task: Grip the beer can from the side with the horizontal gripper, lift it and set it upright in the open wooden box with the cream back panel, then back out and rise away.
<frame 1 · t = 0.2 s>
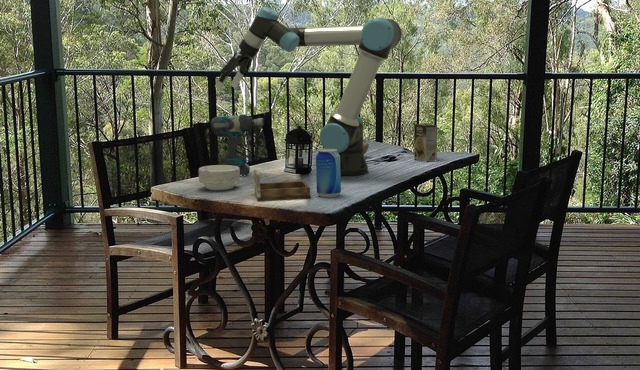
hand: (225, 87, 318), 36 cm above the table, tool tilted 35°, fingers open, 13 cm apart
pottery: (349, 160, 357), on the table
cordless power drill: (240, 175, 322), on the table
paper bowls: (220, 189, 293), on the table
open wooden box: (287, 195, 275), on the table
coffee box: (425, 161, 350), on the table
beer can: (328, 196, 273), on the table
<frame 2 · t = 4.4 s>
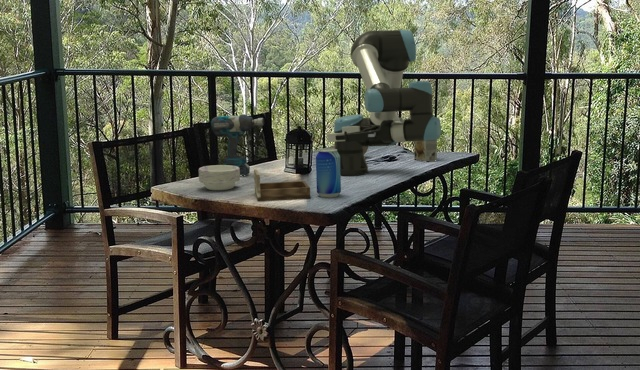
hand: (335, 134, 270), 21 cm above the table, tool horizontal, fingers open, 13 cm apart
nothing on the table moved.
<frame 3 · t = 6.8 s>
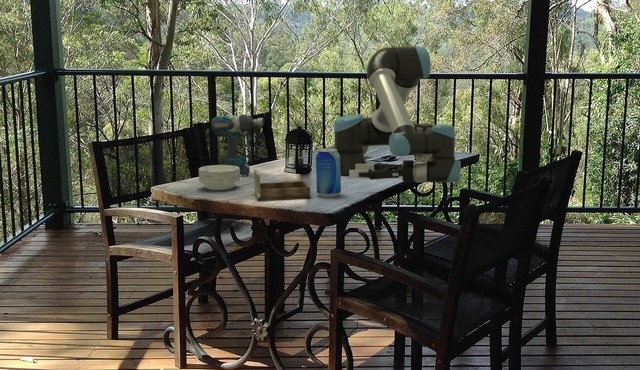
hand: (352, 170, 270), 9 cm above the table, tool horizontal, fingers open, 13 cm apart
nothing on the table moved.
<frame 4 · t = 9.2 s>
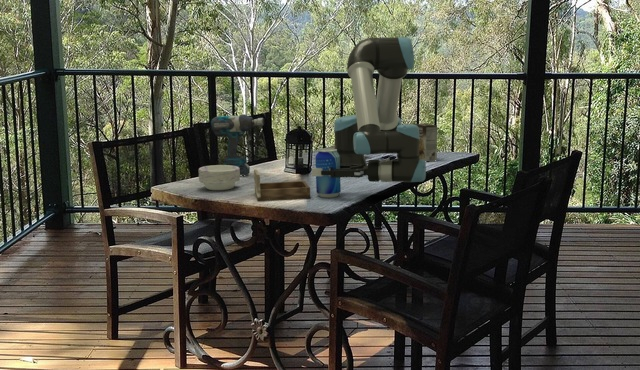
hand: (314, 170, 273), 9 cm above the table, tool horizontal, fingers closed on beer can, 7 cm apart
beer can: (328, 196, 273), on the table, touching gripper
everything else where it was.
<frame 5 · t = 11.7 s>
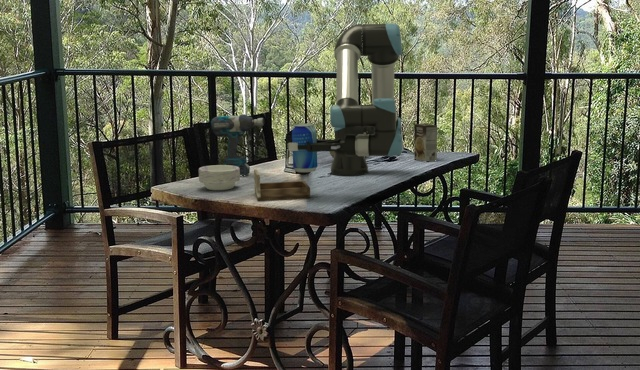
hand: (291, 145, 272), 18 cm above the table, tool horizontal, fingers closed on beer can, 7 cm apart
beer can: (305, 171, 272), point 9 cm above the table, touching gripper
everything else where it was.
when the fingers open (12 cm above the table, at t = 14.1 s): beer can drops 2 cm, resting on open wooden box.
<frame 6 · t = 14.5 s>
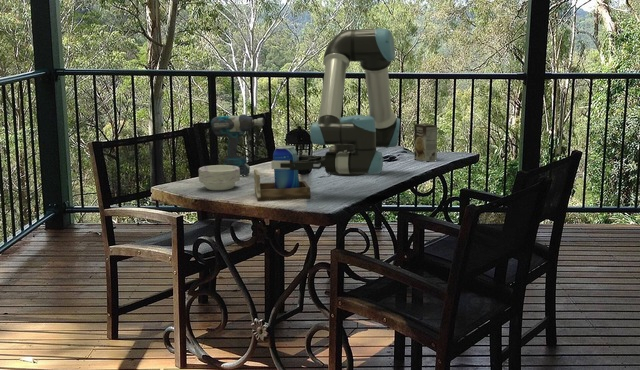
hand: (276, 162, 274), 12 cm above the table, tool horizontal, fingers open, 12 cm apart
beer can: (287, 192, 274), point 1 cm above the table, touching open wooden box
everything else where it was.
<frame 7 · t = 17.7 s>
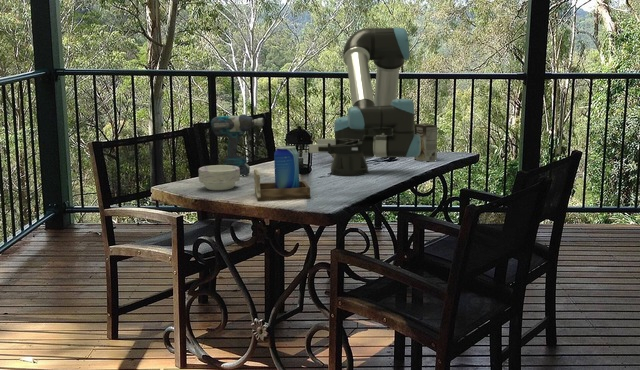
hand: (313, 145, 270), 18 cm above the table, tool horizontal, fingers open, 13 cm apart
nothing on the table moved.
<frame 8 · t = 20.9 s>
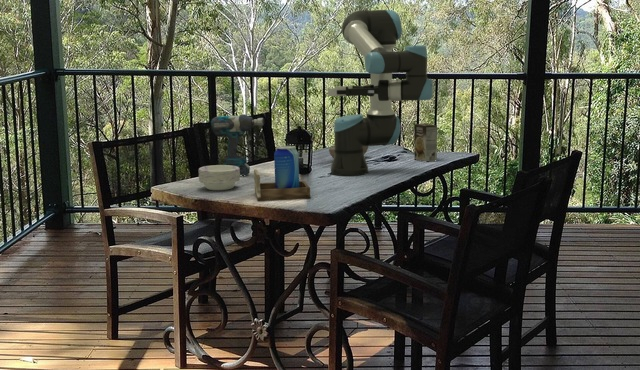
hand: (331, 91, 287), 35 cm above the table, tool horizontal, fingers open, 13 cm apart
nothing on the table moved.
at the end: beer can 0.6 cm off-centre on the open wooden box, point 1.0 cm above the open wooden box's base; beer can tilted 0°; the gripper is holding nothing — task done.
